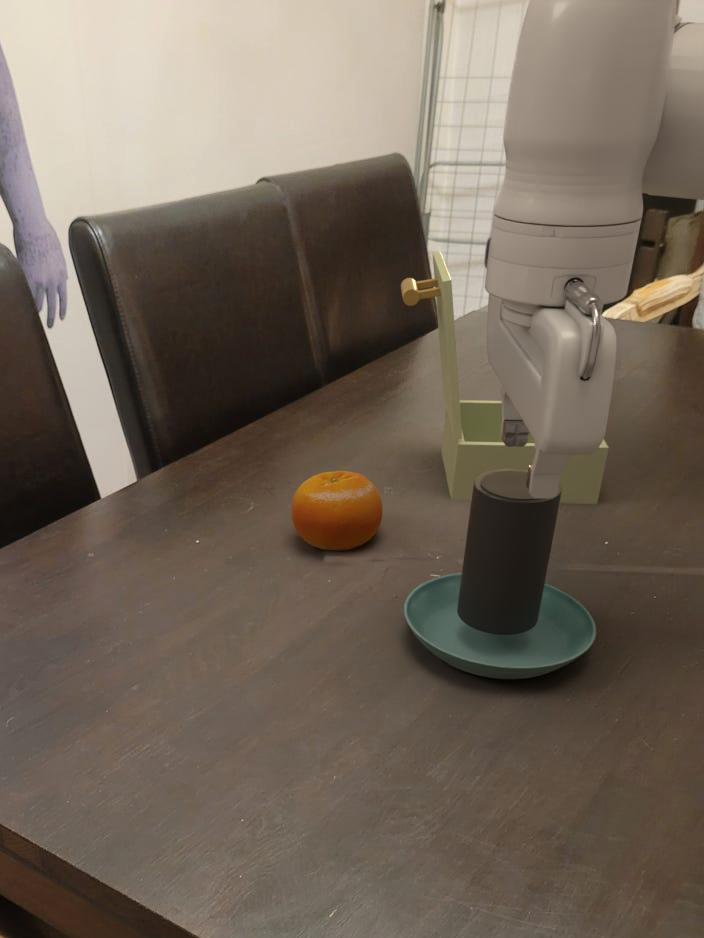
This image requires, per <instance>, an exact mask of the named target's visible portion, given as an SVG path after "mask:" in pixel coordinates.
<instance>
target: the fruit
mask: <svg viewBox="0 0 704 938" xmlns="http://www.w3.org/2000/svg"><path fill="white" fill-rule="evenodd" d="M290 509H291V519H292V520H291V521H292V523H293V526H294V529H295V530H296V532H297V534H298V535H299V536H300V538H302V540H303V541H304V542H306V543H307V544H309V545H310V546H312V547H314V548H316V549H320V550H323V551H325V550H326V551H348V550H349V551H350V550H353V549H355V548H358V547H361V546H363V545H364V544H366V543H367V542H369V541H370V540H371V539H372V538H373V537H374V536H375V535H376V533H377V532H378V530H379V528H380V526H381V522H382V518H383V502H382V498H381V495H380V493H379V490H378V489H377V487H376V486H375V484H374V483H373V482H372V481H371V480H370V479H369V478H368V477H366V476H365V475H363V474H361V473H359V472H354V471H347V470H336V471H326V472H320V473H318V474H315V475H313V476H311V477H309V478H307V480H305V481H303V482H302V483H301V485H300V486H299V487H298V488H297V489H296V491H295V493H294V494H293V498H292V502H291V507H290Z"/></svg>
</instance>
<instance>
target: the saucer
mask: <svg viewBox="0 0 704 938" xmlns="http://www.w3.org/2000/svg"><path fill="white" fill-rule="evenodd" d="M461 576H462V572H456V573H450V574H449V573H448V574H446V575H441V576H437V577H434V578H432V579H429V580H426V581H425V582H423V583H421V584H419V585H417V586H416V587H415V588H413V589H412V591H410V592H409V594H408V595H407V597H406V599H405V601H404V605H403V614H404V618H405V620H406V622H407V624H408V626H409V629H410V630H411V631H412V633H413V634H414V635H415V637H416V638H417V640H418V641H419V642H420V643H421V645H423V646H424V647H425V648H426V649H427V650H429V651H430V652H431V653H432V654H433V655H434V656H436V657H437V659H440V660H441V661H442V662H445V663H446V664H448V665H450V666H451V667H453V668H455V669H458V670H460V671H462V672H466V673H469V674H471V675H475V676H480V677H484V678H490V679H497V680H521V679H530V678H536V677H539V676H540V677H541V676H544V675H546V674H548V673H551V672H554V671H557V670H559V669H562V668H563V667H565V666H567V665H569V664H570V663H572V662H574V661H575V660H576V659H578V658H580V657H581V656H582V655H584V654H585V653H586V652H587V651H588V650H589V649H590V648H591V647H592V645H593V643H594V641H595V639H596V636H597V626H596V622H595V620H594V618H593V616H592V615H591V614H590V612H589V610H588V609H587V608H586V607H585V606H584V605H583V604H582V603H581V602H580V601H578V599H575V597H573V596H571V595H570V594H569V593H567V592H564V591H563V590H561V589H559V588H557V587H555V586H552V585H550V584H548V583H545V584H544V590H543V595H542V600H541V606H540V611H539V617H538V622H537V624H536V625H535V626H534V627H533V628H532V629H531V630H529V631H527V632H524V633H520V634H515V635H496V634H490V633H485V632H482V631H479V630H476V629H474V628H472V627H470V626H468V625H467V624H465V623H464V622H463V621H462V620H461V619H460V618H459V616H458V613H457V607H458V599H459V592H460V584H461Z"/></svg>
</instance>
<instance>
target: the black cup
mask: <svg viewBox="0 0 704 938" xmlns="http://www.w3.org/2000/svg"><path fill="white" fill-rule="evenodd" d="M527 474H528V471H527V470H519V469H500V470H492V471H488V472H485V473H482V474H480V475H479V476H477V477H476V479H475V480H474V485H473V493H472V500H470V502H471V503H470V508H469V509H470V510H469V516H468V523H467V530H466V539H465V546H464V547H465V548H464V554H463V560H462V561H463V562H462V570H461V573H462V576H461V584H460V592H459V599H458V607H457V613H458V616H459V618H460V619H461V620H462V621H463V622H464V623H465V624H467V625H468V626H470V627H472V628H474V629H476V630H479V631H482V632H485V633H490V634H496V635H515V634H520V633H524V632H527V631H529V630H531V629H532V628H533V627H534V626H535V625H536V624H537V622H538V617H539V611H540V606H541V600H542V595H543V590H544V584H546V579H547V574H548V573H547V572H548V567H549V563H550V558H551V551H552V546H553V542H554V535H555V530H556V525H557V519H558V514H559V508H560V504H561V503H560V498H561V492H562V488H561V486H560V484H559V486H558V492H557V494H556V496H555V497H553V498H550V499H535V498H533V497H531V495H530V493H529V491H528V489H527V486H526V481H527Z"/></svg>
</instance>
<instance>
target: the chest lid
mask: <svg viewBox="0 0 704 938" xmlns="http://www.w3.org/2000/svg"><path fill="white" fill-rule="evenodd" d="M432 261H433V262H432V265H433V276H434V277H433V278H429V279H424V280H417V281H416V280H415V279H414V278H413V277H406V278H405V279H403V280H402V281H401V284H400V291H401V292H400V293H401V296H402V301H403V303H404V304H405V305H406V306H408V307H414V306H415V305H417V304H418V303H419V301H420V300H425V299H431V298H435V302H436V304H435V305H436V315H437V316H436V317H437V327H438V328H437V329H438V330H437V331H438V342H439V355H440V369H441V370H440V371H441V380H442V381H441V382H442V393H443V395H442V396H443V400H444V404H445V409H446V408H447V412H448V417H449V421H450V425H451V429H452V433H453V437H454V440H457V439H462V429H461V414H460V400H461V399H460V387H459V384H460V383H459V374H458V373H459V372H458V371H459V370H458V358H457V357H458V356H457V341H456V327H455V326H456V325H455V312H454V298H453V283H452V278H451V275H450V273H449V270H448V268H447V265H446V263H445V260H444V257H443V254H442V252H441V251H440V250H437V251H433V252H432Z"/></svg>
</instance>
